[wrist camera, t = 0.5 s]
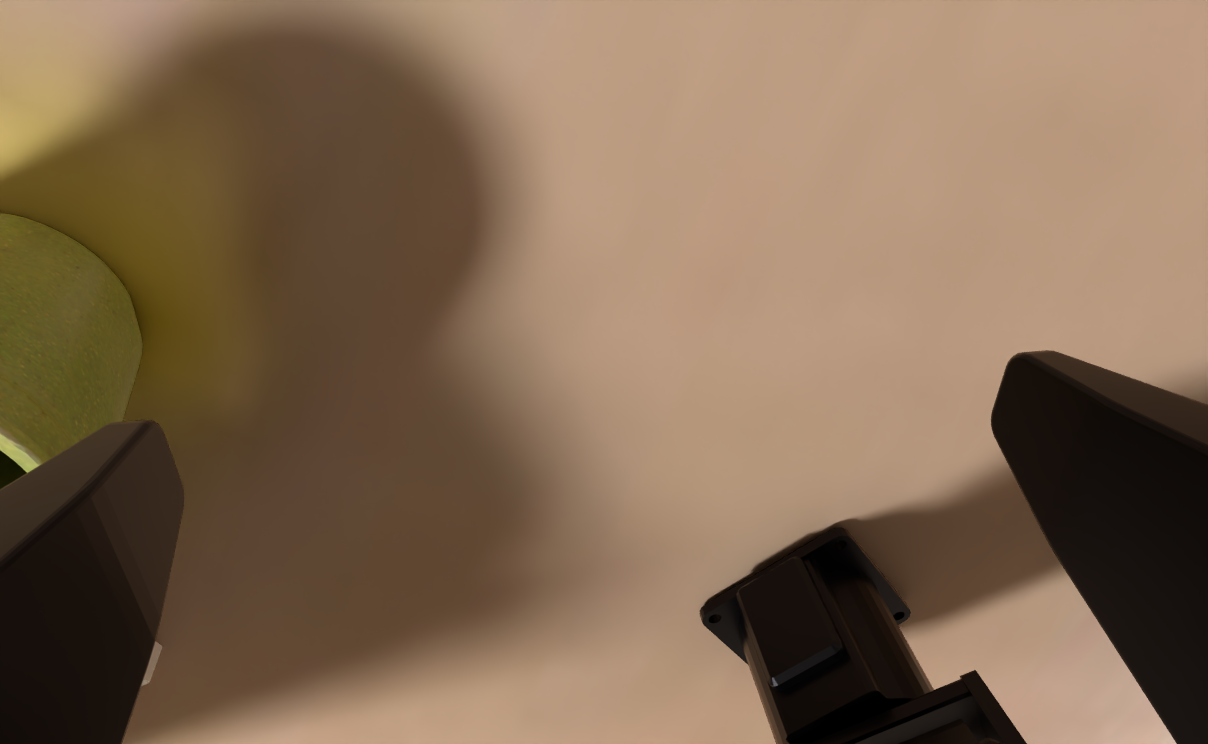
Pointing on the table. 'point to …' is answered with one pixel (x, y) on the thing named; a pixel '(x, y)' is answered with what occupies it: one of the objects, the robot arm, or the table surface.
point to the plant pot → (58, 345)
